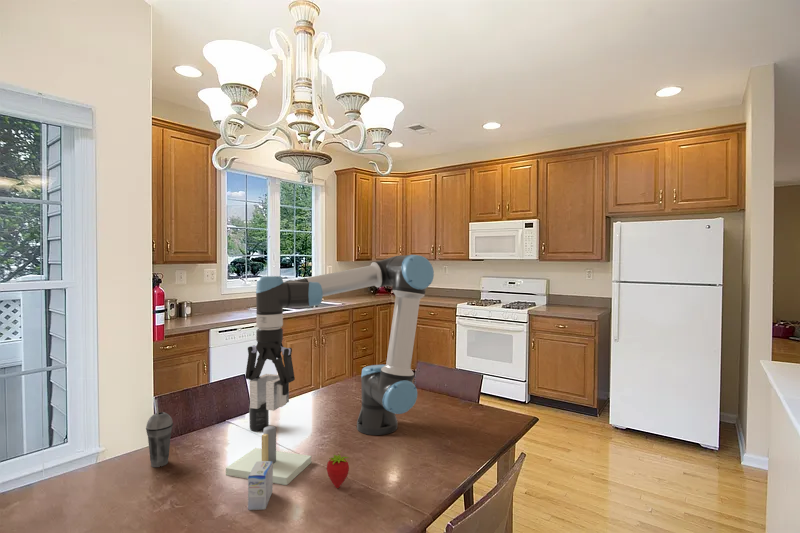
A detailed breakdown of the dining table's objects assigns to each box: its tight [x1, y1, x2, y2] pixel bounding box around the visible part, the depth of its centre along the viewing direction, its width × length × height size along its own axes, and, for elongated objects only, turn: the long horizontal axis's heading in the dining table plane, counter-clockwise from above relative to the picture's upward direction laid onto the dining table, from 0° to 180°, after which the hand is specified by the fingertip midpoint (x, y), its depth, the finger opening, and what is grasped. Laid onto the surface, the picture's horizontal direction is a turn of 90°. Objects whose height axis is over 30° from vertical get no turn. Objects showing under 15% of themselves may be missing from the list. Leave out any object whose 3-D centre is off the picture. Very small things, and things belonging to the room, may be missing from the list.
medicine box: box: [247, 461, 274, 511], centre depth 108 cm, size 8×4×9 cm, turn 5°
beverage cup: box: [145, 398, 174, 468], centre depth 129 cm, size 7×7×20 cm
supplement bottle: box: [248, 403, 270, 432], centre depth 157 cm, size 7×7×12 cm
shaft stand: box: [225, 425, 312, 486], centre depth 126 cm, size 20×14×12 cm
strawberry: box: [326, 450, 350, 489], centre depth 115 cm, size 6×8×10 cm
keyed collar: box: [249, 373, 290, 412], centre depth 125 cm, size 8×8×8 cm
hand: (269, 404), depth 126 cm, fingers closed on keyed collar, 8 cm apart
